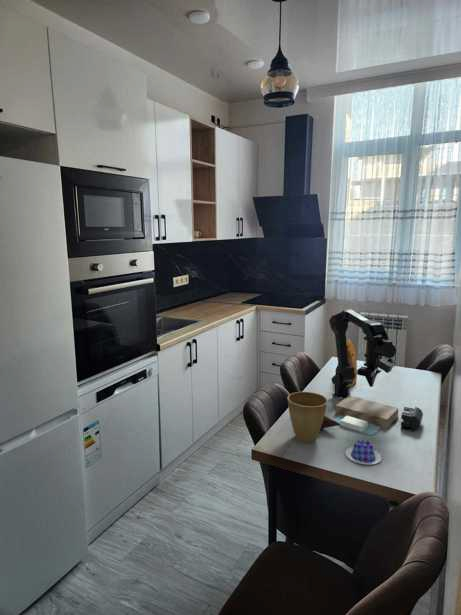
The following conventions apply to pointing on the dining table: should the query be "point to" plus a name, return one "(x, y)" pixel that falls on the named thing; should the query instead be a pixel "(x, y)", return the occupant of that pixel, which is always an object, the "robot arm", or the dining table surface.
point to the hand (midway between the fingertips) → (371, 386)
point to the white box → (354, 423)
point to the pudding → (363, 452)
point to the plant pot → (306, 414)
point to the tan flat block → (367, 411)
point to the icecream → (328, 423)
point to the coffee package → (352, 359)
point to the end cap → (411, 419)
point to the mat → (368, 430)
